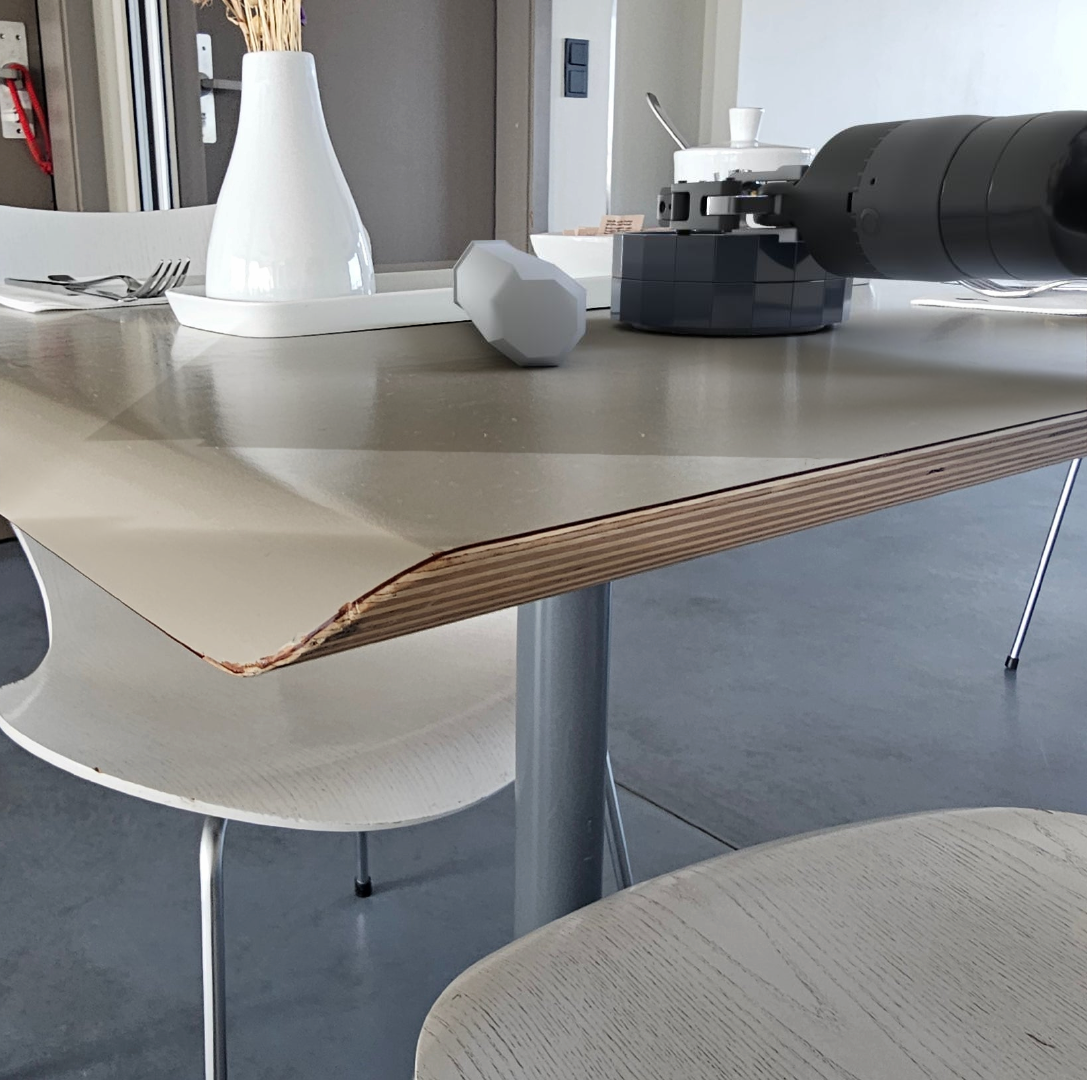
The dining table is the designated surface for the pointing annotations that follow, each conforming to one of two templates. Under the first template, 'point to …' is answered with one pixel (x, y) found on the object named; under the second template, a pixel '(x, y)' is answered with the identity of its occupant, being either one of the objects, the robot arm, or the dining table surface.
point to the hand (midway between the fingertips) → (711, 206)
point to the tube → (520, 302)
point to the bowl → (722, 284)
